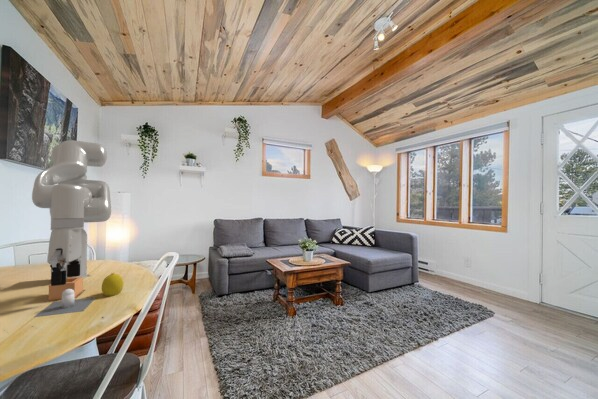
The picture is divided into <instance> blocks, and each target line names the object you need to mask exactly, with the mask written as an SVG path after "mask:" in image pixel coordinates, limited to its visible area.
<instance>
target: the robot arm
mask: <svg viewBox="0 0 598 399" xmlns="http://www.w3.org/2000/svg"><path fill="white" fill-rule="evenodd" d="M106 149H107V148H105V146H104V145H103V144H100V143H96V142H90V141H89V142H88V141H80V140H71V139H70V140H64V141H62V142H61V143H59V144H57V145H55V146H54V147H53V148H52V150H51V160H52V166H49V167H47V168H46V169H44V170H43V171H41V172H40V173H39V174H37V175H36V177H35V180H34V182H33V188H32V192H31V202H32V203H33V204H34V205H35V207H36V208H37V207H38V208H41V209H49V216H50V231H51V232H50V235H49V236H50V237H49V242H48V254H47V263H48V264H49V267H50V284H51V286H56V285H64V284H66V278H74V277H83V280H84V279H85V278H87V277H92V275H90V274H87V268H88V265H87V264H88V263H87V262H88V258H87V257H88V234H87V231H86V230H85V229H84V228H85V224H84V223H102V222H106V221H108V220H109V219H110V218H111V216H112V203H111V202H112V200H111V190H110V186H109V184H108V183H107V182H105V181H104V180H103V181H102V180H93V179H88V178H87V172H88V167H98V168H99V167H100V168H101V167H104V166H105V164H106V161H107V158H108V156H107V154H108V153H107V150H106Z"/></svg>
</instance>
